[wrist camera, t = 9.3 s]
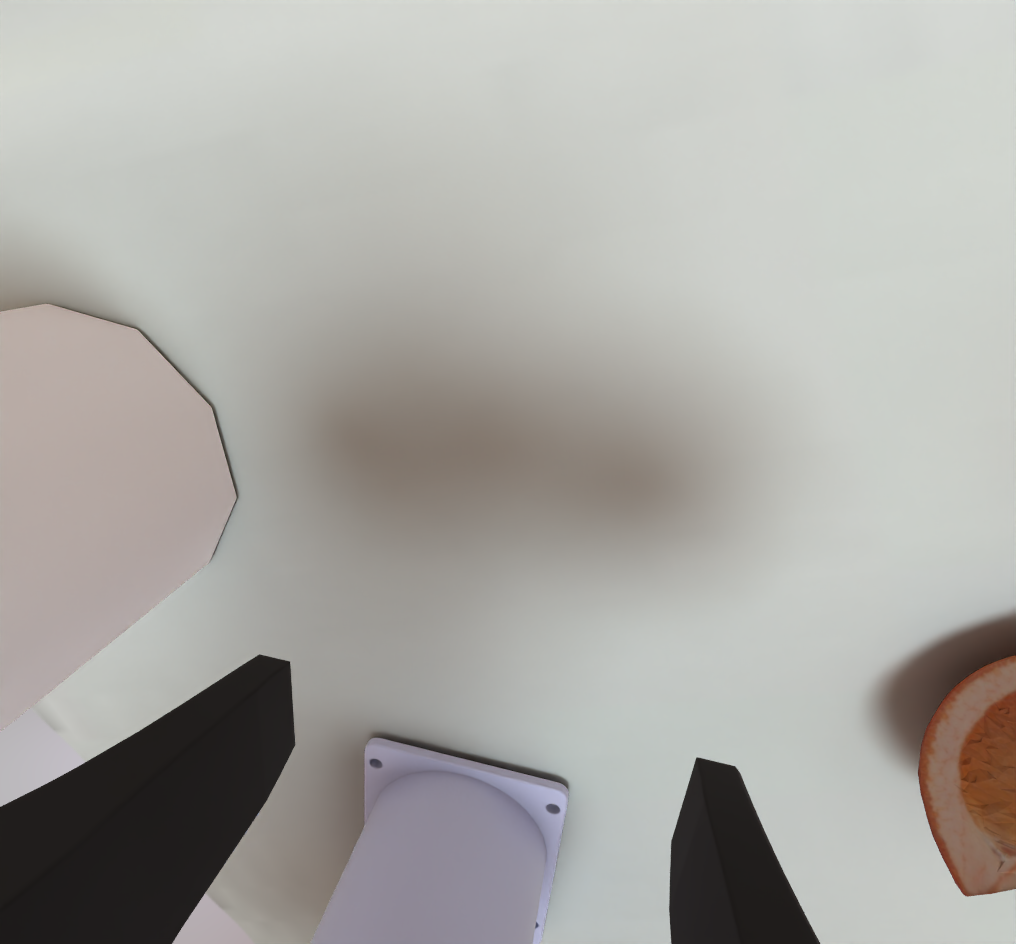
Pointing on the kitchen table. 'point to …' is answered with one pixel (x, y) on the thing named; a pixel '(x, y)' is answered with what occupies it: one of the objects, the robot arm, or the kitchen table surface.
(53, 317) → the toilet paper
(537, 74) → the kitchen table surface
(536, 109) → the kitchen table surface
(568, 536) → the kitchen table surface
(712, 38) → the kitchen table surface
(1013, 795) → the fruit slice
